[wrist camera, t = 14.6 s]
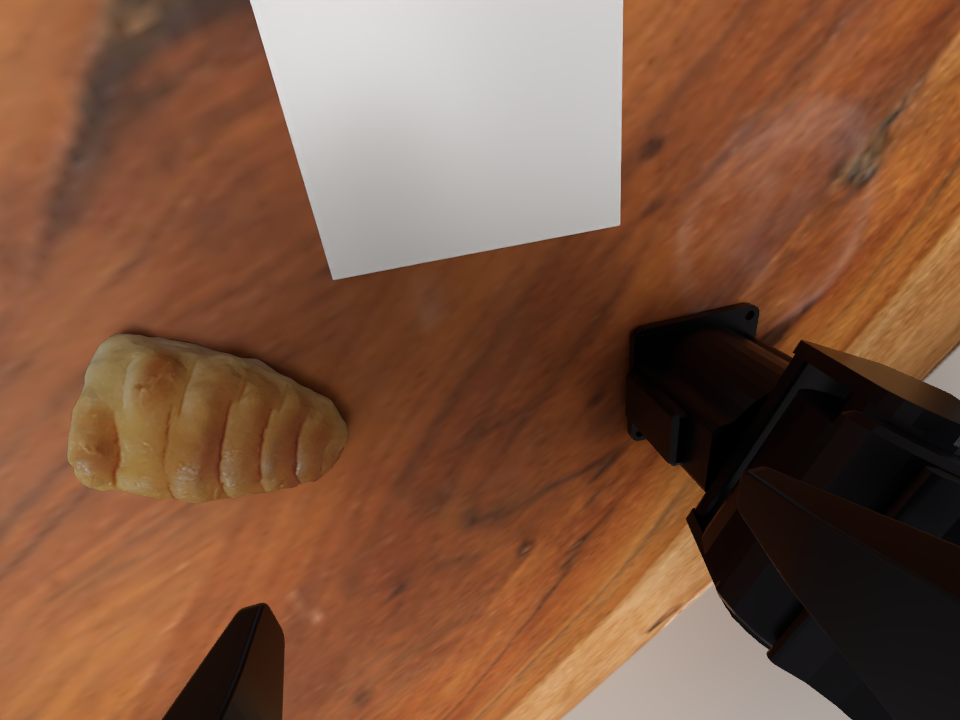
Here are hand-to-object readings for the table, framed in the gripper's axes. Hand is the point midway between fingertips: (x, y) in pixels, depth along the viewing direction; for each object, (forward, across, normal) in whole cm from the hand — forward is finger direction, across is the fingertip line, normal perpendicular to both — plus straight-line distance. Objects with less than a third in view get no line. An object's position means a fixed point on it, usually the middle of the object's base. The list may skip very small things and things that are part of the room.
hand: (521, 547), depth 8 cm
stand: (+12, -2, -8) cm, 15 cm away
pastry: (+13, +10, +2) cm, 16 cm away
